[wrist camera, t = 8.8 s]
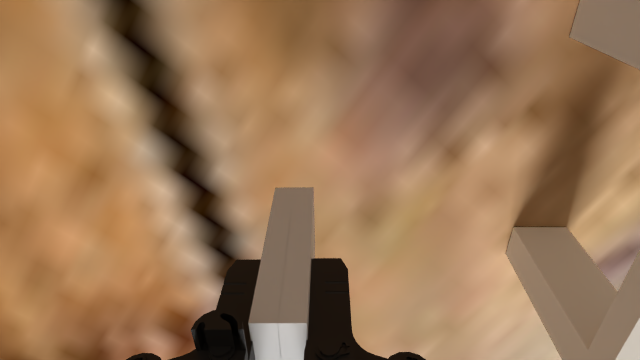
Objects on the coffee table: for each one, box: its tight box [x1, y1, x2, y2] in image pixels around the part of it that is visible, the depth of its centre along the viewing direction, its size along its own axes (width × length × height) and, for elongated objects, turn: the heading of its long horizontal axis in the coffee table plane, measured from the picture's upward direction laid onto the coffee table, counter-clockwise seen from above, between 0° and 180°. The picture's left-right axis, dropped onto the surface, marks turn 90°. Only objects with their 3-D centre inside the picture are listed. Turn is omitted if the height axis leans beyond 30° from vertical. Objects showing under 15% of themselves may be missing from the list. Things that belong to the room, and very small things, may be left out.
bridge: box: [506, 0, 640, 360], centre depth 17 cm, size 3×14×9 cm, turn 1°
